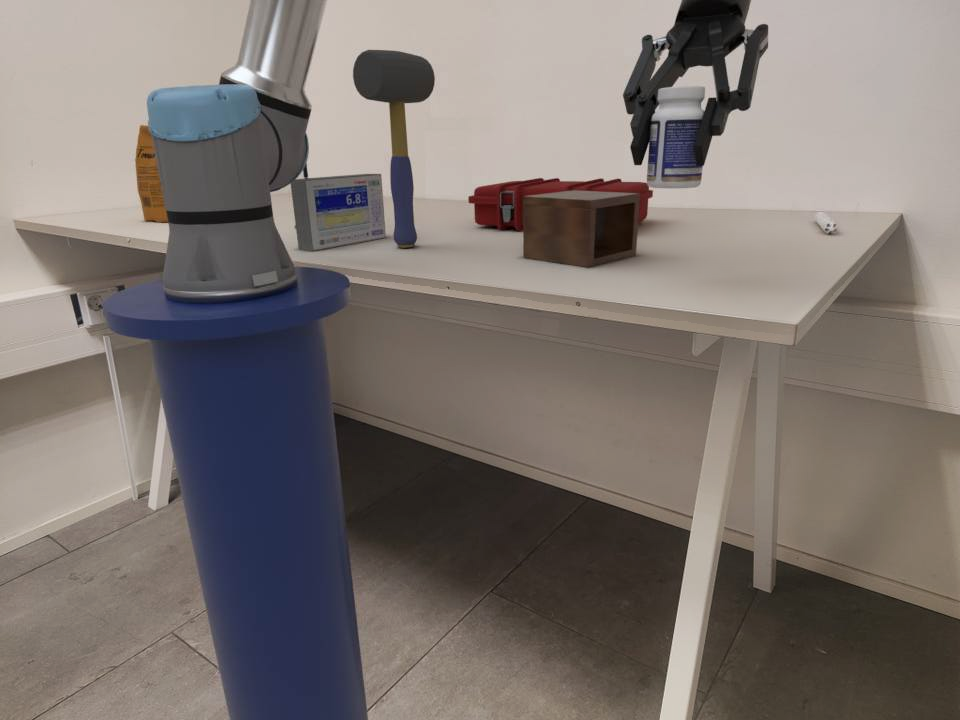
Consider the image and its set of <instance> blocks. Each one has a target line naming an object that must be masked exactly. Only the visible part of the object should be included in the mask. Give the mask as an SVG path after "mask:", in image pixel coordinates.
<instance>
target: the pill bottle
mask: <svg viewBox="0 0 960 720" xmlns="http://www.w3.org/2000/svg"><path fill="white" fill-rule="evenodd" d="M705 93H706V88H705V86H702V85H701V86H700V85H682V86H680V85H679V86H672V87H667V88H661V89H659V90H658V98H657V101H658V103H659V105H658V109H657V110H655V113H654V114H653V116H652V118H651V125H650V140H649V144H648V153H647V155H648V156H647V170H646V183H647V185H648V186H649V188H652V189H653V188H654V189H693V188H697V187H699V186H700V185H701V184H702V177H703V167H704V166H696V159H695V151H694V144H695V141H696V138H697V135H698V131H699V128H700V125H701V121H702V118H703V115H704V111H705V109H703V108H702V103H703V101H704V100H705V98H706V97H705V96H706V94H705Z"/></svg>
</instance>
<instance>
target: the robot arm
mask: <svg viewBox="0 0 960 720" xmlns="http://www.w3.org/2000/svg"><path fill="white" fill-rule="evenodd" d="M327 2H328V0H250V2H249V7H248V11H247V15H246V21H245V25H244V29H243V35H242V37H241V44H240V48H239V52H238V53H239V54H238V57H237V62H236V64H235V65H233V66H232V67H230V68H228V69H226V70H224V71H221V74H220V77H219V83H218V84H202V85H186V86H172V87H163V88H157V89H154V90H152V91H151V92H150V93H149V94H148V95H147V98H146V108H147V116H148V120H147V126H148V129H149V131H150V133H151V137H152V142H153V147H154V152H155V157H156V162H157V168H158V173H159V178H160V183H161V188H162V193H163V198H164V203H165V208H166V213H167V218H168V222H167V224H168V228H169V229H168V239H167V247H166V254H165V260H164V266H163V272H162V279H163V289H164V294H165V297H166V298H167V299H168V300H171V301H174V302H179V303H188V304H218V303H231V302H240V301H248V300H254V299H260V298H265V297H269V296H273V295H277V294H280V293H283V292H286V291H289V290H291V289H293V288H294V287H295V286H296V285H297V276H296V271H295V267H296V266H295V265H294V262H293V260H292V257H291V256H290V254H289V252H288V249H287V248H286V245H285V243H284V241H283V239H282V237H281V235H280V232H279V231H278V228H277V226H276V223H275V218H274V212H273V203H272V195H271V193H274V192H278V191H280V190H281V189H284V188H285V187H287V186H289V185H291V182H293V181H294V180H295V179H298V178H299V176H300V175H301V174H302V173H303V169H304V167H305V165H306V163H307V164H308V159H309V153H310V142H309V138H308V134H307V130H308V126H309V121H310V117H311V112H312V110H313V105H312V103H311V101H310V100H309V98H308V96H307V93H306V90H305V89H306V86H307V85H306V84H307V81H308V77H309V74H310V73H309V72H310V70H311V65H312V60H313V57H314V53H315V49H316V46H317V41H318V37H319V33H320V31H321V27H322V26H321V25H322V21H323V17H324V13H325V11H326V6H327ZM751 3H752V0H681V1H680V4H679V8H678V10H677V13H676V16H675V19H674V24H673V26H672V27H671V28H670V29H669V30H668V31H667V32H666V35H665V36H661V37H659V38H655V39H654V37H653V35H652V34H646V35H644V36H642V38H641V52H640V54H639V57H638V58H637V60H636V63H635V66H634V67H633V70H632V72H631V74H630V77H629V79H628V81H627V84H626V86H625V87H624V91H623V93H622V98H623V102H624V106H625V111H626V113H627V115H632V117H631V120H630V123H629V125H630V130H631V134H632V140H631V143H630V147H629V148H630V152H631V157H632V160H633V161H632V162H633V165H634V166H642V165H643V162H644V159H645V155H646V153H647V150H648V148H649V140H650V125H651V118H652V116H653V114H654V113H655V112H656V110H657V108H659V105H660V104H659V103H658V101H657V98H658V90H659V89H661V88H667V87H674V85H675V83H676V82H677V81H678V79H679V78H683V77H684V75H685V74H686V73H687V71H688V70H689V69H690V68H695V67H712V74H713V80H714V81H713V82H714V89H715V96H716V97H708V99H707V101H706V105H705V108H704V115H703V118H702V121H701V125H700V128H699V131H698V135H697V138H696V141H695V144H694V151H695V159H696V166H703V167H704V166H705V163H706V160H707V157H708V153H709V150H710V148H711V147H710V146H711V143H712V139H713V137H721V136H722V135H723V134H724V132H725V129H726V127H727V126H726V125H727V122H728V118H729V115H730V114H731V112H733V111H735V110H739V111H741V112H746V111H748V110H750V108H751V106H752V101H753V95H754V91H755V85H756V80H757V75H758V70H759V65H760V60H761V58H762V57H763V55H764V54H765V53H766V51H767V50H768V49H769V25H768V24H767V23H762V24H759V25H757V26H756V27H755V28H754V29H749V28H746V21H747V17H748V14H749V11H750V7H751V6H750V5H751ZM742 44H743V50H744V55H743V58H742V59H743V60H742V64H741V69H740V72H739V78H738V82H737V87H736V88H737V89H734V90H731V86H730V83H729V76H728V70H727V61H726V57H728V55H730V54H732V52H734V51H735V50H737V49H738V48H739V47H740V46H741V45H742ZM665 50H667V51H668V53H667V57H666V58H665V59H664V61H663V62H662V64H660V66H659V67H658V69H657V71H655V69H656V65H657V62H659V61H660V60H661V56H662V54H663V52H664V51H665ZM654 72H655V73H654Z"/></svg>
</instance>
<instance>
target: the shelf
mask: <svg viewBox="0 0 960 720" xmlns="http://www.w3.org/2000/svg"><path fill="white" fill-rule="evenodd" d="M639 198H640V194H639V193H619V192H598V191H577V190H572V191H564V192H555V193H547V194H538V195H530V196H524V197H523V204H524V205H523V230H522V232H523V233H522V235H523V238H522V239H523V240H522V241H523V242H522V245H523V248H522V250H523V251H522V254H523V255H522V257H523V258H524V259H529V260H536V261H542V262H549V263H550V262H551V263H556V264H564V265H570V266H575V267H577V266H578V267H583V268H591V267H595V266H596V267H597V266H599V265H603V264H607V263H612V262H614V261H615V262H616V261H620V260H623V259H628V258H630V257H634V256H636V255H637V246H638V229H639V223H638V214H639Z"/></svg>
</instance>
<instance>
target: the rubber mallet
mask: <svg viewBox="0 0 960 720" xmlns="http://www.w3.org/2000/svg"><path fill="white" fill-rule="evenodd" d="M352 79H353V85H354V86H355V89H356V91H357V93H358V94H359V95H360V96H361V97H362V98H364V99H366V100H369V101H375V102H380V103H387V104H388V107H389V108H388V109H389V121H390V122H389V124H390V140H391V142H390V143H391V158H390V165H389V166H390V168H389V171H390V172H389V173H390V174H389V177H390V178H389V179H390V180H389V181H390V193H391V197H392V202H393V203H392V204H393V216H394V230H393V240H394V242H395V244H396V247H398V248H401V249H410V248H413V247H415V245H416V243H417V240H418V234H417V230H416V227H415V226H416V225H415V215H414V187H415V186H414V176H413V169H412V162H411V159H410V157H409V146H408V133H407V120H406V119H407V118H406V106H405V104H416V103H417V104H418V103H422V102H425V101H426V100H427V99H429V98H430V96H431V95H432V93H433V92H434V87H435V83H436V82H435V81H436V77H435V71H434V69H433V66H432V64H431V63H430V62H429V61H428V60H427V58H425V57H424V56H421V55H416V54H413V53H409V52H408V53H407V52H405V51H400V50H388V49H367V50H364V51H361V52H360V53H359V55H358V56H357V57H356V60H355V61H354V64H353V68H352Z"/></svg>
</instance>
